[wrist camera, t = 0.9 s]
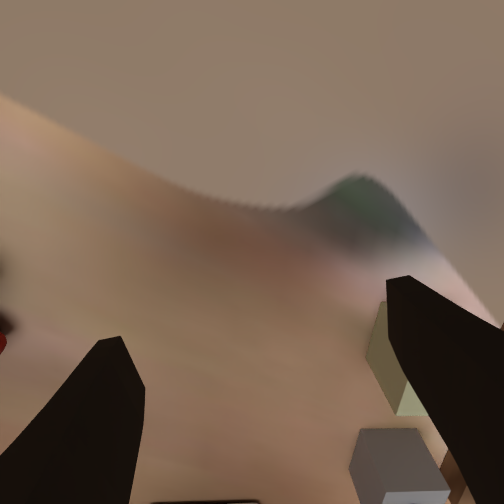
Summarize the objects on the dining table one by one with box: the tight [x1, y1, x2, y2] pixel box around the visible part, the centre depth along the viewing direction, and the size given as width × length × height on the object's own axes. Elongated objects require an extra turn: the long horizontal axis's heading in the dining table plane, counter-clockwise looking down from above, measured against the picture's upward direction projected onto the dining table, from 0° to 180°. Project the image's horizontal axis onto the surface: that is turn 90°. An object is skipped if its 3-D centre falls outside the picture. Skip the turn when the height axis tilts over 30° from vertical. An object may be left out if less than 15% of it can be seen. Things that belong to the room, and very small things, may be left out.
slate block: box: [349, 428, 451, 504], centre depth 26 cm, size 4×4×5 cm
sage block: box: [366, 302, 429, 416], centre depth 22 cm, size 4×4×5 cm
